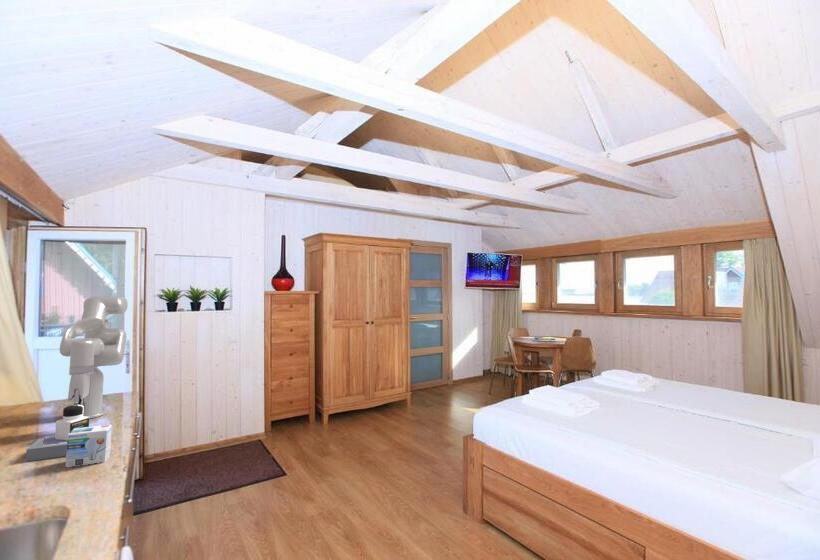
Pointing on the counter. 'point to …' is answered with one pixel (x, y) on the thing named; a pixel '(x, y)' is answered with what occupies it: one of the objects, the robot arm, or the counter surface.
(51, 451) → the bracket
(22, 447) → the counter surface
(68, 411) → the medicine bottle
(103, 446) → the light bulb box
